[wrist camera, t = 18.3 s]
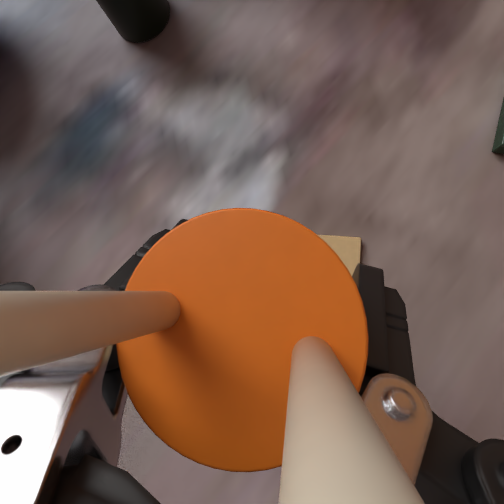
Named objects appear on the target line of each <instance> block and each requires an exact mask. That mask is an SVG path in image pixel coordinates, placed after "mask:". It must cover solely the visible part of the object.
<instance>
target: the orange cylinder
mask: <svg viewBox="0 0 504 504" xmlns="http://www.w3.org/2000/svg"><path fill="white" fill-rule="evenodd" d="M368 338H369V336H368V327H367V318H366V314H365V310H364V305H363V301H362V298H361V296H360V293H359V291H358V288H357V285H356V283H355V281H354V280H353V278H352V276H351V274H350V272H349V270H348V268H347V267H346V266H345V264H344V263H343V262H342V260H341V259H340V257H339V256H338V255H337V254H336V252H335V251H334V250H333V249H332V248H331V247H330V246H329V245H328V244H327V243H326V242H325V241H324V240H323V239H321V238H320V237H319V236H318V235H316V234H315V233H314V232H313V231H311V230H310V229H308V228H306V227H305V226H303V225H302V224H300V223H298V222H296V221H294V220H292V219H290V218H287V217H285V216H283V215H279V214H276V213H273V212H269V211H264V210H258V209H251V208H232V209H222V210H217V211H213V212H208V213H205V214H202V215H200V216H197V217H194V218H192V219H190V220H188V221H186V222H184V223H182V224H180V225H178V226H177V227H175V228H174V229H172V230H171V231H170V232H168V233H167V234H165V235H164V236H163V237H162V238H161V239H160V240H159V241H157V242H156V243H155V244H154V245H153V246H152V247H151V249H150V250H149V251H148V252H147V253H146V254H145V255H144V257H143V258H142V260H141V261H140V262H139V264H138V265H137V267H136V268H135V270H134V272H133V274H132V276H131V278H130V280H129V282H128V284H127V286H126V289H125V291H0V377H3V376H6V375H9V374H13V373H16V372H20V371H23V370H27V369H30V368H34V367H37V366H41V365H44V364H48V363H51V362H54V361H58V360H61V359H65V358H68V357H72V356H75V355H79V354H82V353H86V352H89V351H92V350H96V349H99V348H103V347H106V346H110V345H113V344H116V347H117V356H118V363H119V367H120V372H121V376H122V379H123V382H124V385H125V388H126V390H127V393H128V395H129V397H130V399H131V401H132V403H133V405H134V407H135V409H136V410H137V412H138V413H139V415H140V416H141V418H142V419H143V421H144V422H145V423H146V424H147V425H148V427H149V428H150V429H151V430H152V431H153V432H154V433H155V435H156V436H158V437H159V438H160V439H161V440H162V441H163V442H164V443H166V444H167V445H168V446H169V447H171V448H172V449H174V450H175V451H177V452H178V453H179V454H181V455H182V456H184V457H187V458H189V459H191V460H193V461H195V462H197V463H199V464H202V465H205V466H208V467H211V468H214V469H220V470H225V471H231V472H254V471H263V470H269V469H272V468H276V467H280V466H282V471H281V482H280V494H279V504H425V503H424V501H423V500H422V498H421V496H420V495H419V493H418V491H417V490H416V488H415V486H414V485H413V483H412V481H411V480H410V478H409V476H408V475H407V473H406V471H405V470H404V468H403V466H402V465H401V463H400V461H399V460H398V458H397V456H396V455H395V453H394V451H393V450H392V448H391V446H390V445H389V443H388V441H387V440H386V438H385V436H384V435H383V433H382V431H381V430H380V428H379V426H378V425H377V423H376V422H375V420H374V418H373V417H372V415H371V413H370V412H369V410H368V408H367V407H366V405H365V403H364V402H363V400H362V398H361V397H360V395H359V391H360V388H361V385H362V381H363V378H364V375H365V370H366V364H367V358H368Z"/></svg>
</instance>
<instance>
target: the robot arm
mask: <svg viewBox="0 0 504 504" xmlns="http://www.w3.org/2000/svg"><path fill="white" fill-rule="evenodd" d="M186 221H188V220H186V219H182V220H180V221H179V222H178V223H177V224H176V226H175V227H177V226H178V225H180V224H182V223H184V222H186ZM175 227H174V228H175ZM174 228H173V229H174ZM170 231H171V230H167V229H165V230H163V231H161V232H159V233H157V234H155V235H153V236H152V237H151V238H150V239H149V240H148V241H147V242H146V243H145V244H144V245H143V247H141V248H140V249H139V250H138V251H137V252H136V253H135V255H133V256H132V257H131V258H130V259H129V260H128V261H127V262H126V263H125V264H124V265H123V266H122V267H121V268H120V269H119V270H118V271H117V272H116V273H115V274H114V275H113V276H112V277H111V278H110V279H109V280H108V281H107V282H106V283H105V284H104V285H91V286H87V287H84V288H82V289H80V290H78V291H125V289H126V286H127V284H128V282H129V280H130V278H131V276H132V274H133V272H134V270H135V268H136V267H137V265H138V264H139V262H140V261H141V260H142V258H143V257H144V255H145V254H146V253H147V252H148V251H149V250H150V249H151V247H152V246H153V245H154V244H155V243H156V242H157V241H159V240H160V239H161V238H162V237H163V236H164V235H165V234H167V233H168V232H170ZM352 278H353V280H354V281H355V283H356V285H357V288H358V291H359V293H360V296H361V298H362V301H363V305H364V310H365V314H366V318H367V327H368V336H369V338H368V358H367V364H366V370H365V375H364V378H363V381H362V385H361V388H360V391H359V395H360V397H361V398H362V400H363V402H364V403H365V405H366V407H367V408H368V410H369V412H370V413H371V415H372V417H373V418H374V420H375V422H376V423H377V425H378V426H379V428H380V430H381V431H382V433H383V435H384V436H385V438H386V440H387V441H388V443H389V445H390V446H391V448H392V450H393V451H394V453H395V455H396V456H397V458H398V460H399V461H400V463H401V465H402V466H403V468H404V470H405V471H406V473H407V475H408V476H409V478H410V480H411V481H412V483H413V485H414V486H415V488H416V490H417V491H418V493H419V495H420V496H421V498H422V500H423V501H424V503H425V504H504V441H503V440H499V439H487V440H484V441H482V442H481V443H478V442H476V441H475V440H473V439H472V438H470V437H468V436H467V435H465V434H464V433H462V432H461V431H459V430H457V429H456V428H454V427H453V426H451V425H449V424H448V423H446V422H445V421H444V420H442V419H441V418H439V417H438V416H437V415H436V414H435V413H434V412H433V411H432V410H431V408H430V405H429V403H428V401H427V399H426V398H425V396H424V395H423V393H422V392H421V391H420V390H419V389H418V388H417V387H416V384H415V379H414V371H413V363H412V355H411V347H410V340H409V333H408V324H407V321H406V319H407V316H406V308H405V303H404V302H403V300H402V298H401V297H400V295H399V293H398V292H397V290H396V289H392V288H388V287H384V274H383V270H382V269H379V268H375V267H371V266H367V265H364V264H360V263H358V264H357V266H356V268H355V270H354V273H353V275H352ZM0 291H36V290H35V289H34V287H33V286H32V285H30V284H28V283H24V282H12V283H7V284H3V285H0ZM127 395H128V393H127V390H126V388H125V385H124V382H123V379H122V376H121V372H120V367H119V363H118V356H117V347H116V344H113V345H110V346H106V347H103V348H99V349H96V350H92V351H89V352H86V353H82V354H79V355H75V356H72V357H68V358H65V359H61V360H58V361H54V362H51V363H48V364H44V365H41V366H37V367H34V368H30V369H27V370H23V371H20V372H16V373H13V374H9V375H6V376H3V377H0V504H160V503H159V502H158V501H157V500H156V499H155V498H154V497H153V496H152V495H151V494H150V493H149V492H148V491H147V490H146V489H145V488H144V487H143V486H142V485H141V484H140V483H139V482H138V481H137V480H136V479H134V478H133V477H132V476H131V475H130V474H129V473H128V472H127V471H125V470H122V469H120V468H118V467H117V464H118V459H119V454H120V449H121V438H122V433H121V423H122V416H123V412H124V408H125V404H126V399H127Z"/></svg>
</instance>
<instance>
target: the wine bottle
mask: <svg viewBox="0 0 504 504" xmlns="http://www.w3.org/2000/svg"><path fill="white" fill-rule="evenodd" d="M96 1H97V2H98V4H99V5H100V6H101V8H102V9H103V11H104V12H105V14H106V15H107V16H108V18H109V19H110V21H111V22H112V24H113V25H114V26H115V28H116V29H117V31H118V32H119V34H120V35H121V36H122V37H123V38H125V39H126V40H128V41H131V42H144V41H148V40H150V39H152V38H154V37H155V36H157V35H158V34H159V33H160V32H161V31H162V30H163V29H164V27H165V25H166V24H167V21H168V19H169V13H170V9H169V4H168V1H167V0H96Z"/></svg>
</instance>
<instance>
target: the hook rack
mask: <svg viewBox="0 0 504 504" xmlns="http://www.w3.org/2000/svg"><path fill="white" fill-rule="evenodd" d="M492 152H496V153H501V154H504V99H503V103H502V108H501V113H500V117H499V122H498V126H497V131H496V136H495V140H494V145H493V149H492Z"/></svg>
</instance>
